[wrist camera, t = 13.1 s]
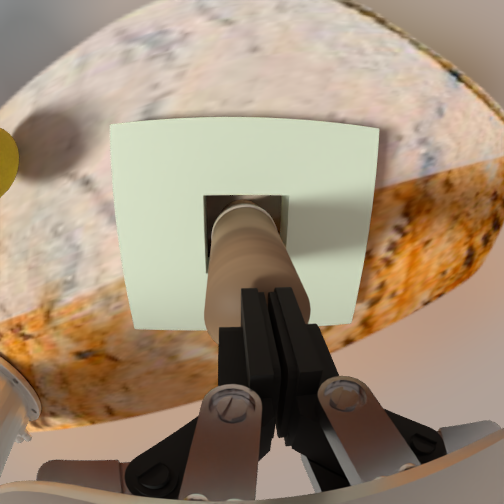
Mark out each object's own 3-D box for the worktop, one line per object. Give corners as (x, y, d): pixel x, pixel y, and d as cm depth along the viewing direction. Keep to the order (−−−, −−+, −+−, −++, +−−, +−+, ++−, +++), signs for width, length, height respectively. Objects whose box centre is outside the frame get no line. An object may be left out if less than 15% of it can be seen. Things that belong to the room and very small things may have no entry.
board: (341, 305, 24) (351, 323, 22) (142, 310, 23) (134, 329, 21) (362, 127, 19) (379, 128, 16) (123, 124, 17) (109, 124, 15)
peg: (269, 249, 22) (305, 354, 12) (213, 249, 21) (206, 358, 11) (272, 194, 20) (318, 266, 10) (212, 194, 20) (199, 268, 10)
